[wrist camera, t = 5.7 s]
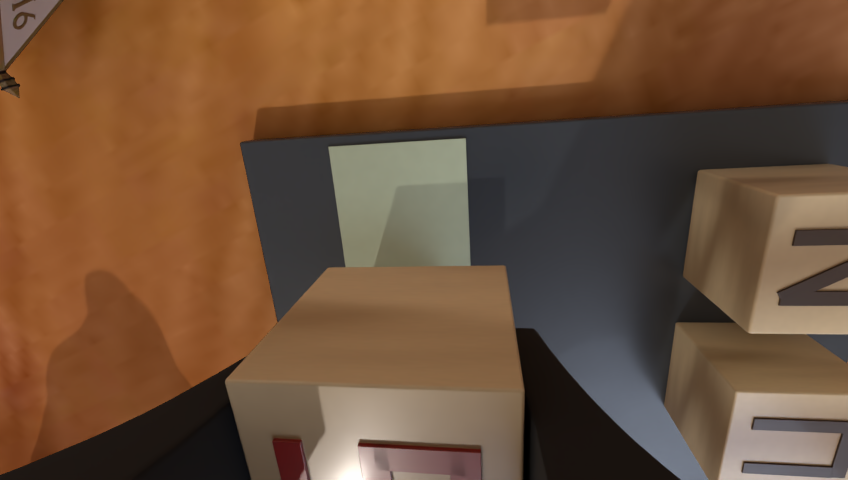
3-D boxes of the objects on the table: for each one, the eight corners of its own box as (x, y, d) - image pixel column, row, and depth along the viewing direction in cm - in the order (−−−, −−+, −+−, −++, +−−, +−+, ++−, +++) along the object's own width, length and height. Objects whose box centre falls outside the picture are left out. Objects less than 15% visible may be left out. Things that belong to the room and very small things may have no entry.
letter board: (771, 548, 21) (861, 688, 16) (326, 513, 24) (287, 618, 19) (900, 96, 14) (1133, 93, 9) (251, 139, 17) (160, 155, 12)
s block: (506, 415, 10) (522, 611, 6) (349, 408, 11) (275, 584, 7) (505, 264, 9) (525, 393, 5) (327, 266, 10) (220, 383, 6)
